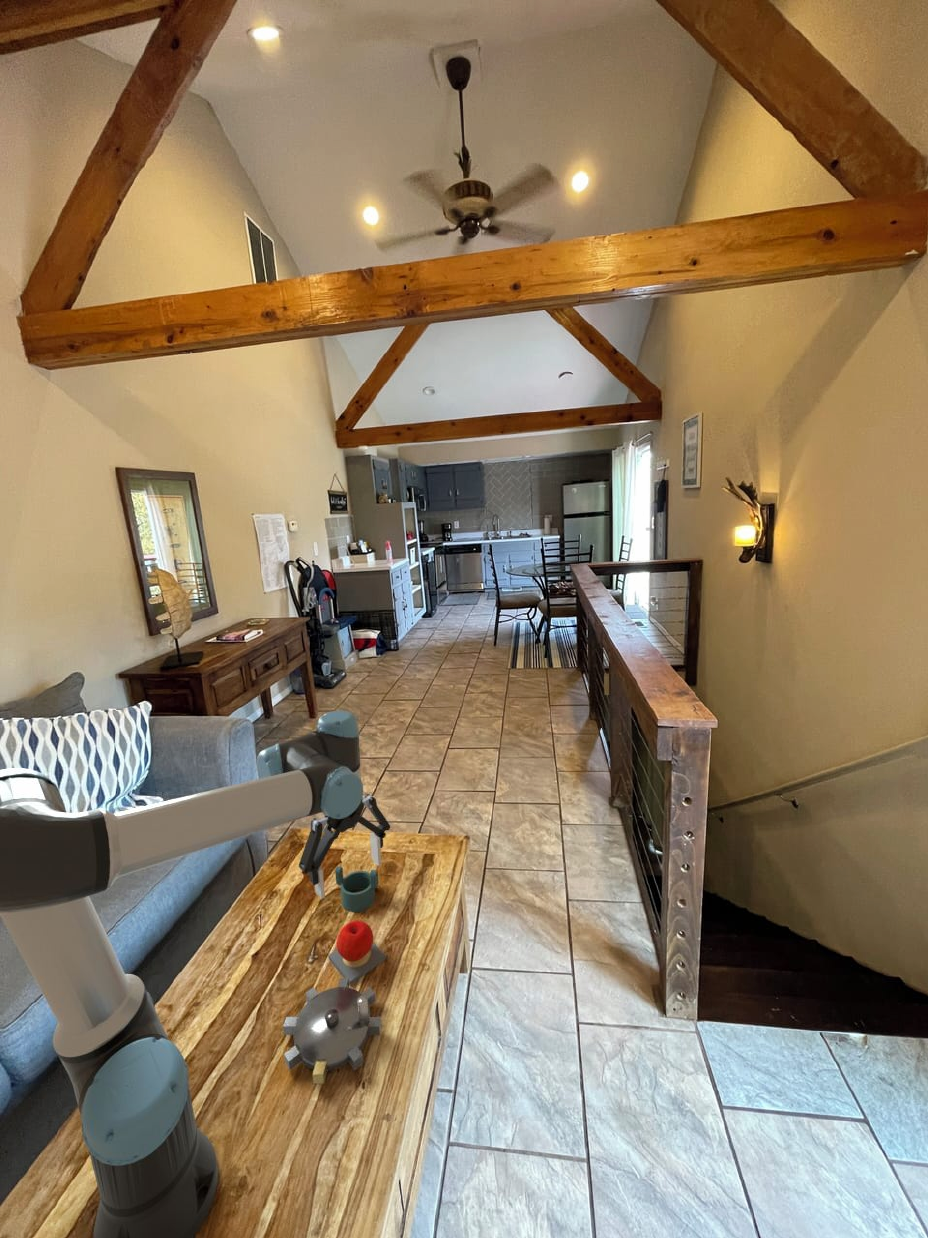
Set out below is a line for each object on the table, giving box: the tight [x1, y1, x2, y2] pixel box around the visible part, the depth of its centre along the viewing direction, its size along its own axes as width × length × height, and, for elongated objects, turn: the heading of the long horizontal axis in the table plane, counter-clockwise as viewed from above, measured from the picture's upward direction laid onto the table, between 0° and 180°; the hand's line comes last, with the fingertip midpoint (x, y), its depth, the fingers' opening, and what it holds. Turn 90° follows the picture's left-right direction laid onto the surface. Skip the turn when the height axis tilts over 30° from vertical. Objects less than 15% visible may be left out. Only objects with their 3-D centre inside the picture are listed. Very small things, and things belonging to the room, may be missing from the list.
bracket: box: [334, 866, 379, 913], centre depth 128 cm, size 9×9×9 cm
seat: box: [327, 941, 387, 986], centre depth 111 cm, size 9×9×1 cm
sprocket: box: [282, 977, 382, 1085], centre depth 94 cm, size 18×18×7 cm
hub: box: [325, 1009, 339, 1027], centre depth 95 cm, size 6×6×4 cm
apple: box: [336, 920, 374, 962], centre depth 110 cm, size 8×8×7 cm
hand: (349, 878), depth 107 cm, fingers open, 13 cm apart
